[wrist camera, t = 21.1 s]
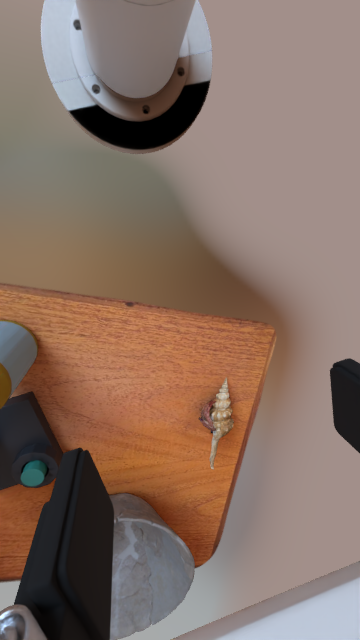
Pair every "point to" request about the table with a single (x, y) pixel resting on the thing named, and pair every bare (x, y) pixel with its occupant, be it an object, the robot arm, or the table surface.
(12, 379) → the bottle
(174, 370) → the table surface
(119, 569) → the ceramic bowl
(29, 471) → the button
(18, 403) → the dark grey flat block
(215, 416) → the tan spiral seashell
